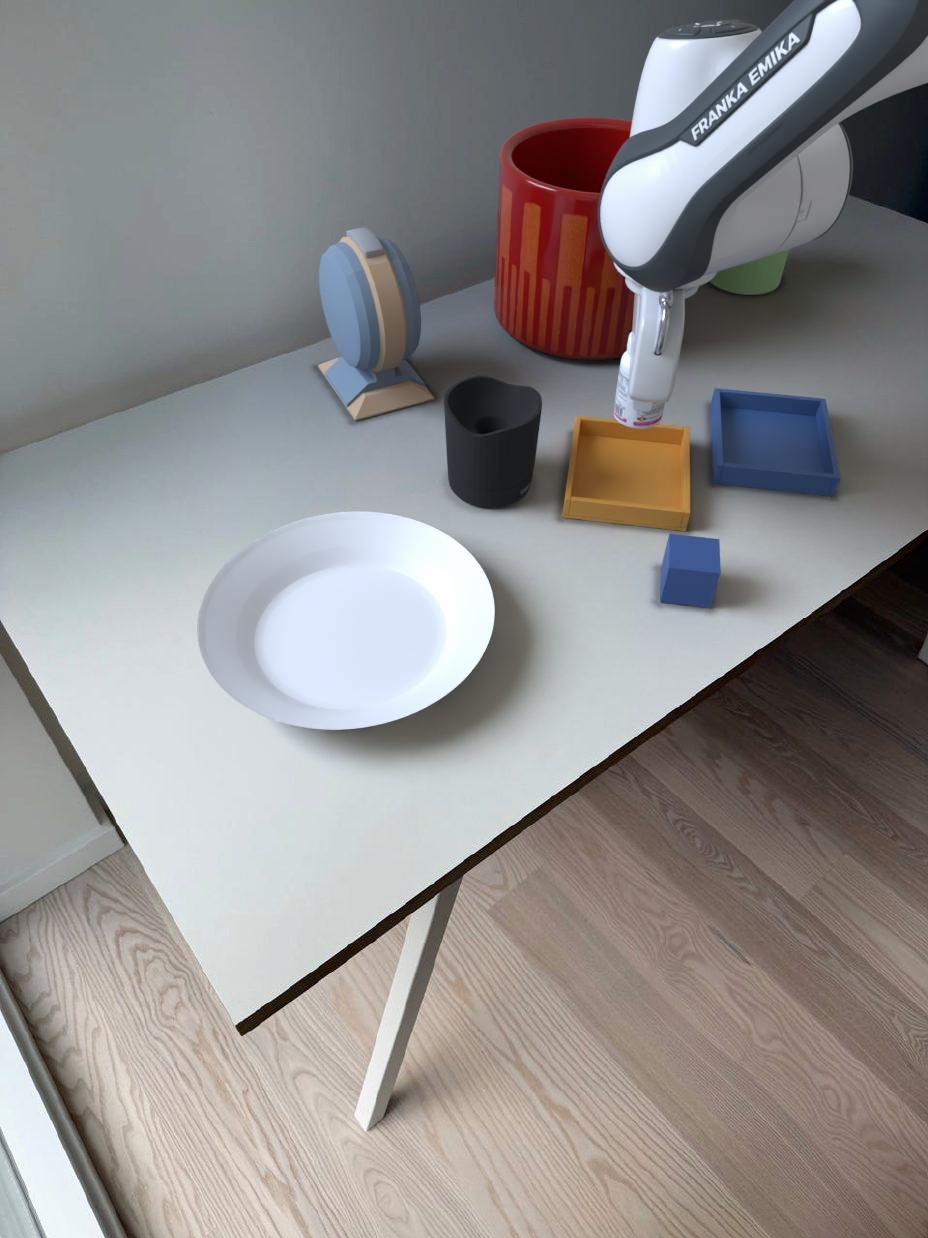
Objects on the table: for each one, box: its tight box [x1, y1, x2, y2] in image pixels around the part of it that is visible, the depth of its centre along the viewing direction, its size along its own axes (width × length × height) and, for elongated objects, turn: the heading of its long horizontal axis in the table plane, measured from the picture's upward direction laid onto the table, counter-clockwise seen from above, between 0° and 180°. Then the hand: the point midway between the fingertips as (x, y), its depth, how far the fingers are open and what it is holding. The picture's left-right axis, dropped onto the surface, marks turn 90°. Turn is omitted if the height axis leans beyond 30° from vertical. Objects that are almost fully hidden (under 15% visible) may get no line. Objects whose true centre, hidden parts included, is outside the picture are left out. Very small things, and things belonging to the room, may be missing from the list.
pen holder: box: [443, 374, 543, 509], centre depth 89 cm, size 9×9×10 cm
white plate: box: [196, 510, 496, 731], centre depth 77 cm, size 25×25×4 cm
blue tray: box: [709, 387, 841, 497], centre depth 96 cm, size 12×14×2 cm
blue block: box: [659, 533, 722, 609], centre depth 81 cm, size 4×4×4 cm
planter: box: [493, 116, 635, 361], centre depth 108 cm, size 23×23×20 cm
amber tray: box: [562, 415, 691, 532], centre depth 92 cm, size 12×14×2 cm
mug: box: [709, 249, 790, 296], centre depth 119 cm, size 13×10×12 cm
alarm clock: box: [317, 226, 436, 422], centre depth 98 cm, size 14×10×18 cm
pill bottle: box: [613, 332, 666, 429], centre depth 84 cm, size 5×5×8 cm
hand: (642, 388), depth 85 cm, fingers closed on pill bottle, 5 cm apart
